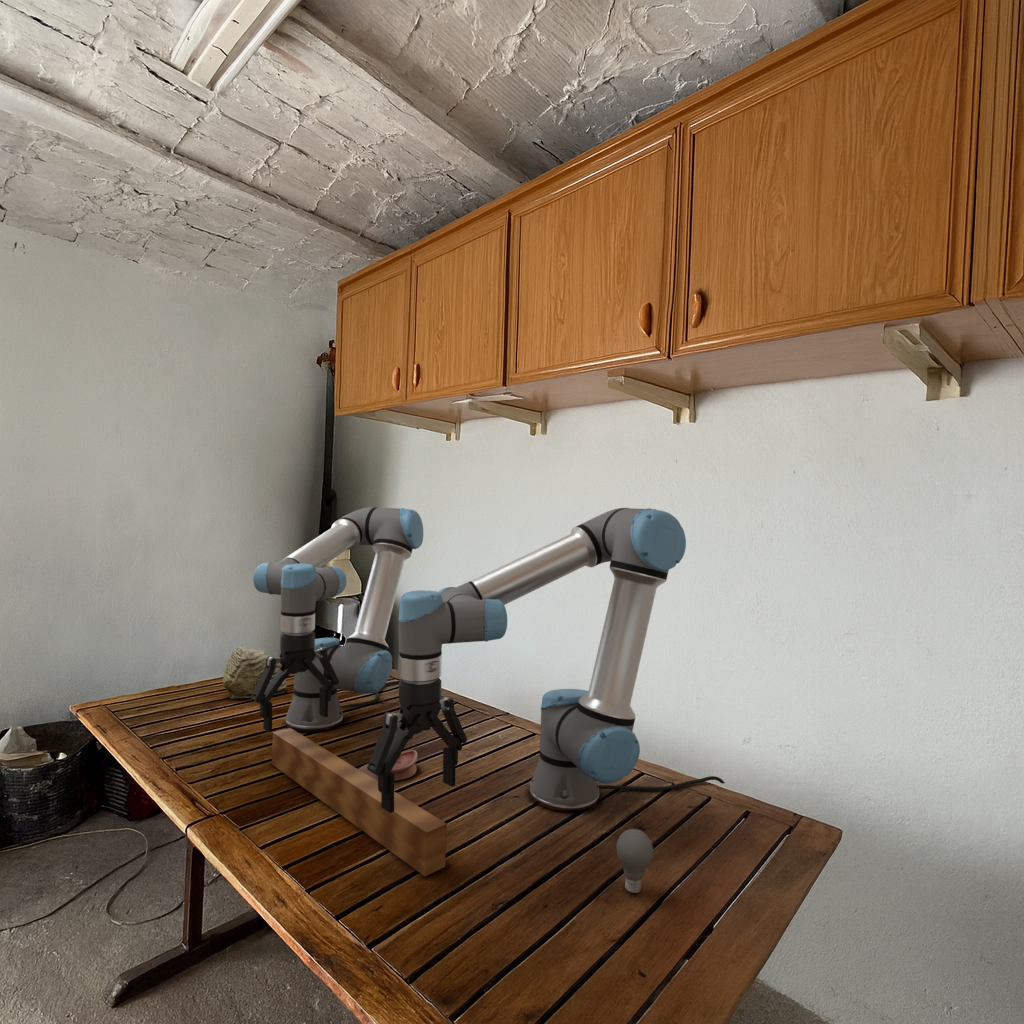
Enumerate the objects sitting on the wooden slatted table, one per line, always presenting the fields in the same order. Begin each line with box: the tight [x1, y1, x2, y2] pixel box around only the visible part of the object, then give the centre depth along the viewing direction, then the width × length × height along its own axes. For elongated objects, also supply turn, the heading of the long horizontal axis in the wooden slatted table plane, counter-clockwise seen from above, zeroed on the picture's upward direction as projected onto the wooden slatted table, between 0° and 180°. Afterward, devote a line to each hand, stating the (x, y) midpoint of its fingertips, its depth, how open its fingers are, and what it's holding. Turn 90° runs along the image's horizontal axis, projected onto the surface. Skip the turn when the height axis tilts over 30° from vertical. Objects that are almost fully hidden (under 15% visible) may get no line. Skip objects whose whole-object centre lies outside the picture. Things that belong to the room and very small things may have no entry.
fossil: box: [222, 646, 288, 699], centre depth 198 cm, size 9×18×15 cm, turn 132°
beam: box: [271, 728, 448, 877], centre depth 129 cm, size 59×4×8 cm, turn 45°
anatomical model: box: [357, 749, 419, 782], centre depth 147 cm, size 13×4×12 cm
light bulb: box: [615, 828, 654, 894], centre depth 106 cm, size 6×6×10 cm
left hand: (296, 722), depth 146 cm, fingers open, 13 cm apart
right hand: (419, 796), depth 113 cm, fingers open, 13 cm apart
